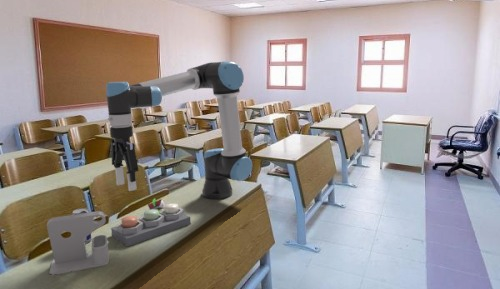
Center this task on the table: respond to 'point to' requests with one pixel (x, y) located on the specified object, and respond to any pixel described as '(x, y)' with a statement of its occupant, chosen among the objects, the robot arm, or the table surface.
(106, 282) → the table surface
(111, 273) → the table surface
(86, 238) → the energy drink
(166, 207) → the cream button
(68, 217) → the phone holder
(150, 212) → the sage button
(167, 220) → the button board
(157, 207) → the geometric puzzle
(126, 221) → the terracotta button
